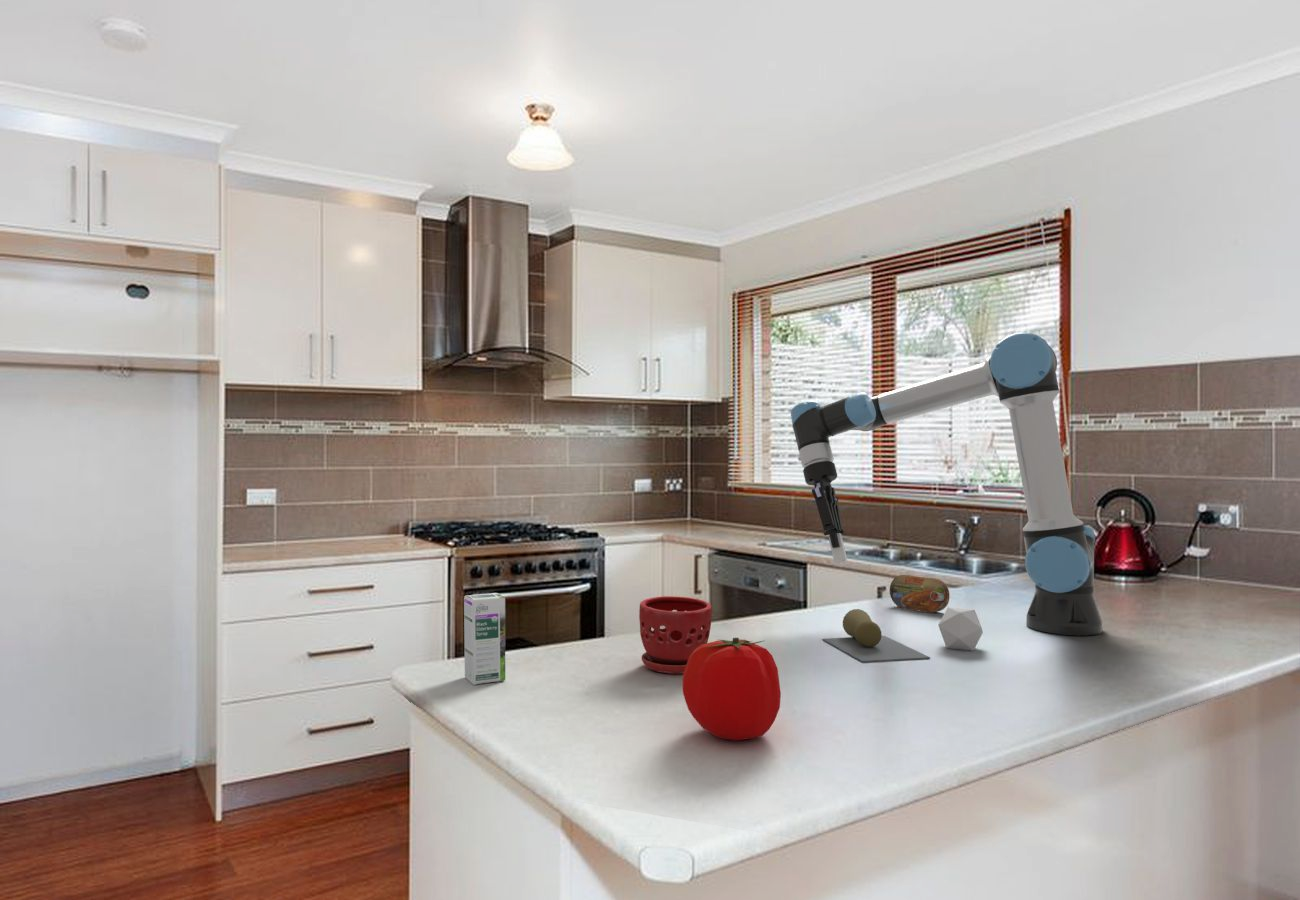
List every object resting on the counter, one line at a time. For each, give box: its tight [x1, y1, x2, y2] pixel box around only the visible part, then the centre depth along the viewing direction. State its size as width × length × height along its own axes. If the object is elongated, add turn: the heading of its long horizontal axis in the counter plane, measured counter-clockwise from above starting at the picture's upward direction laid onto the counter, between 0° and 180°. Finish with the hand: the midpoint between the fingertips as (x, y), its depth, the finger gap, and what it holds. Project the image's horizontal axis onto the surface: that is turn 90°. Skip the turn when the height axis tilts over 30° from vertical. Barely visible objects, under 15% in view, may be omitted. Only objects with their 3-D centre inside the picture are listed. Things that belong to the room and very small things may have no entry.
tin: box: [889, 574, 950, 614], centre depth 207 cm, size 15×3×8 cm, turn 43°
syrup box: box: [463, 592, 506, 686], centre depth 145 cm, size 6×6×14 cm
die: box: [938, 606, 983, 652], centre depth 169 cm, size 8×9×10 cm
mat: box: [822, 635, 931, 663], centre depth 168 cm, size 18×14×1 cm
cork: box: [842, 608, 883, 647], centre depth 172 cm, size 6×6×11 cm
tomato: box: [682, 637, 782, 741], centre depth 119 cm, size 16×14×14 cm
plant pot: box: [638, 595, 713, 675], centre depth 153 cm, size 13×13×12 cm
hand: (841, 562), depth 191 cm, fingers closed
